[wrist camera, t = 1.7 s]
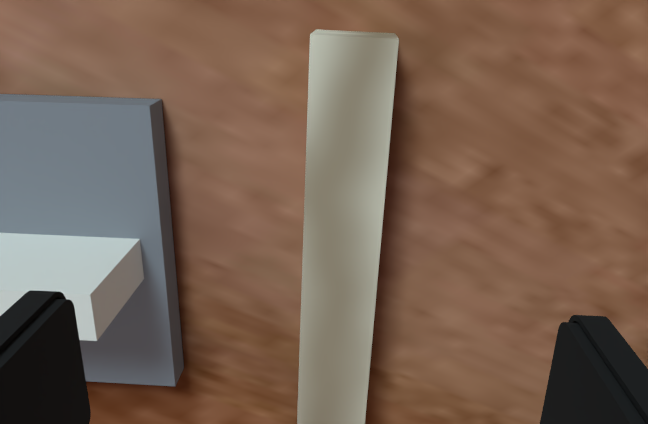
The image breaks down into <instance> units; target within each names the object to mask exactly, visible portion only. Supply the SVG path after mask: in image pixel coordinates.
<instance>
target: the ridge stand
mask: <svg viewBox="0 0 648 424" xmlns="http://www.w3.org/2000/svg"><path fill="white" fill-rule="evenodd" d="M33 290H34V291H56V292H61V293H63V294H64V296H65V297H66V299H69V300H71V301H72V302H73V304H74V308H75V315H76V321H77V328H78V334H79V341H80V347H81V353H82V360H83V366H84V373H85V379H86V381H90V382H107V383H125V384H142V385H159V386H176V384H177V382H178V380H179V377H180V375H181V373H182V371H183V369H184V361H183V349H182V337H181V325H180V313H179V302H178V290H177V278H176V266H175V254H174V242H173V230H172V218H171V206H170V194H169V182H168V171H167V159H166V147H165V135H164V123H163V111H162V99H140V98H109V97H78V96H47V95H16V94H0V316H1V315H2V314H3V313H4V312H5V311H7V310H8V309H9V308H10V307H11V306H12V305H13V304H14V303H15V302H17V301H18V300H19V299H20V298H21V297H22V296H23V295H24V294H25V293H27V292H28V291H33Z"/></svg>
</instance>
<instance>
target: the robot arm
mask: <svg viewBox="0 0 648 424" xmlns="http://www.w3.org/2000/svg"><path fill="white" fill-rule="evenodd" d="M89 421H90V405H89V398H88V392H87V386H86V379H85V373H84V366H83V360H82V353H81V347H80V341H79V334H78V328H77V321H76V315H75V308H74V304H73V302H72V301H71V300H69V299H66V297H65V296H64V294H63V293H61V292H56V291H34V290H33V291H28V292H27V293H25V294H24V295H23V296H22V297H21V298H20V299H19V300H18V301H17V302H15V303H14V304H13V305H12V306H11V307H10V308H9V309H8V310H7V311H5V312H4V313H3V314H2V315H1V316H0V424H89ZM540 424H648V369H647V368H646V366H645V365H644V364H643V362H642V361H641V360H640V359H639V357H638V356H637V355H636V354H635V352H634V351H633V350H632V348H631V347H630V346H629V345H628V343H627V342H626V341H625V339H624V338H623V337H622V336H621V334H620V333H619V332H618V331H617V329H616V328H615V327H614V325H613V324H612V323H611V322H610V320H609V319H608V318H607V317H603V316H583V315H573V316H572V317H571V318H570V320H569V322H563V323H561V324H560V326H559V330H558V334H557V339H556V345H555V350H554V355H553V360H552V365H551V370H550V375H549V380H548V385H547V390H546V396H545V401H544V406H543V411H542V416H541V421H540Z"/></svg>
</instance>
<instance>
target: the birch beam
mask: <svg viewBox="0 0 648 424" xmlns="http://www.w3.org/2000/svg"><path fill="white" fill-rule="evenodd" d="M398 44H399V38H398V37H397V36H396V34H395V33H376V32H356V31H336V30H315V31H314V32H313V33H311V34H310V53H309V83H308V113H307V143H306V173H305V204H304V234H303V264H302V294H301V324H300V354H299V384H298V414H297V424H365V417H366V406H367V394H368V383H369V372H370V360H371V349H372V338H373V326H374V315H375V304H376V293H377V281H378V270H379V259H380V247H381V236H382V225H383V213H384V202H385V191H386V179H387V168H388V157H389V145H390V134H391V123H392V112H393V100H394V89H395V78H396V66H397V55H398Z"/></svg>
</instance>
